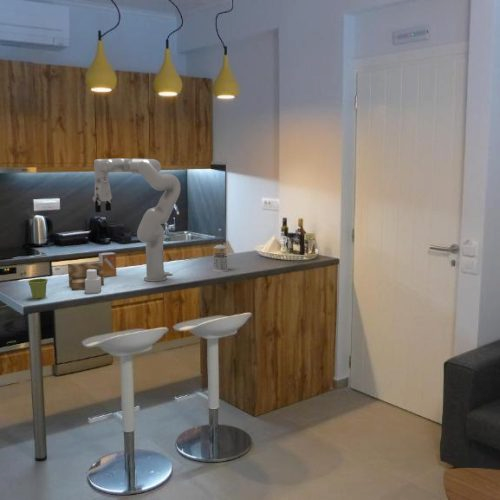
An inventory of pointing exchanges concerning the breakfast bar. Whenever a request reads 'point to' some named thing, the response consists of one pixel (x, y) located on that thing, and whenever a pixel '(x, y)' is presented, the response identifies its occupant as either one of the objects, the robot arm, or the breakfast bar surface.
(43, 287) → the plant pot
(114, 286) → the breakfast bar surface
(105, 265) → the small box
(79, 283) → the wooden crate
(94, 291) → the medicine bottle
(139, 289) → the breakfast bar surface
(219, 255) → the french press
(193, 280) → the breakfast bar surface
